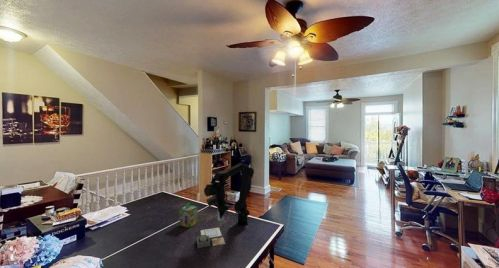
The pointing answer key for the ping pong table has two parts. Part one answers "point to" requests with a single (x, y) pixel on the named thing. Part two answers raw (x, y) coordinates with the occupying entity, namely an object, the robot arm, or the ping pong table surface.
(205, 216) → the ping pong table surface
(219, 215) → the chalk stick
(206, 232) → the sheet
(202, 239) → the button
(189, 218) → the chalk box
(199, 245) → the button housing
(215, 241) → the cork pad
